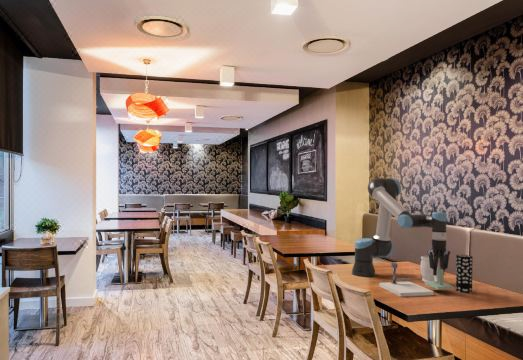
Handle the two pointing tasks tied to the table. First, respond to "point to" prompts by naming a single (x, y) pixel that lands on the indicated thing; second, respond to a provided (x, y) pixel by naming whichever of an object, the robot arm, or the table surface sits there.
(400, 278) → the grey angled block piece
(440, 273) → the cover
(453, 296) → the table surface
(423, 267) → the jar
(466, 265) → the white-spotted black cylinder
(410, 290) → the lock base
